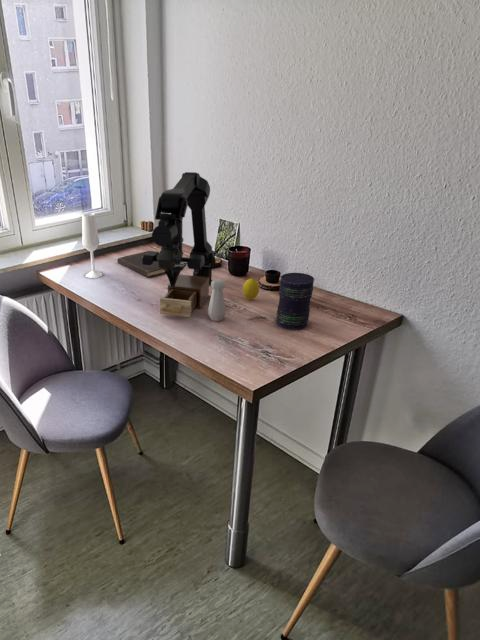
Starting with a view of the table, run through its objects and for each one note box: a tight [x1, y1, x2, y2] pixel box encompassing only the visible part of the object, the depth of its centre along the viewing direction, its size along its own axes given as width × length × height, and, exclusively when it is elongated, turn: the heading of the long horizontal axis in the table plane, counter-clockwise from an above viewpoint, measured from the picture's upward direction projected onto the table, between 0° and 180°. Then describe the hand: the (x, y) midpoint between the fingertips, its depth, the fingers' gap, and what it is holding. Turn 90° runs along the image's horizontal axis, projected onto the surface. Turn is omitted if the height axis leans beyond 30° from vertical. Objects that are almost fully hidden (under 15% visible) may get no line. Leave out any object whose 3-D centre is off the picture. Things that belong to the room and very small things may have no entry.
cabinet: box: [167, 274, 210, 309], centre depth 176 cm, size 12×12×7 cm
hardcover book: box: [117, 250, 175, 278], centre depth 210 cm, size 16×23×2 cm
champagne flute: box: [81, 212, 103, 279], centre depth 197 cm, size 7×7×24 cm
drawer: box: [159, 288, 197, 318], centre depth 166 cm, size 15×10×5 cm
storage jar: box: [275, 272, 315, 331], centre depth 155 cm, size 10×10×15 cm
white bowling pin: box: [207, 278, 227, 322], centre depth 160 cm, size 6×6×13 cm
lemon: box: [242, 277, 260, 301], centre depth 174 cm, size 6×6×8 cm
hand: (173, 286), depth 158 cm, fingers closed
